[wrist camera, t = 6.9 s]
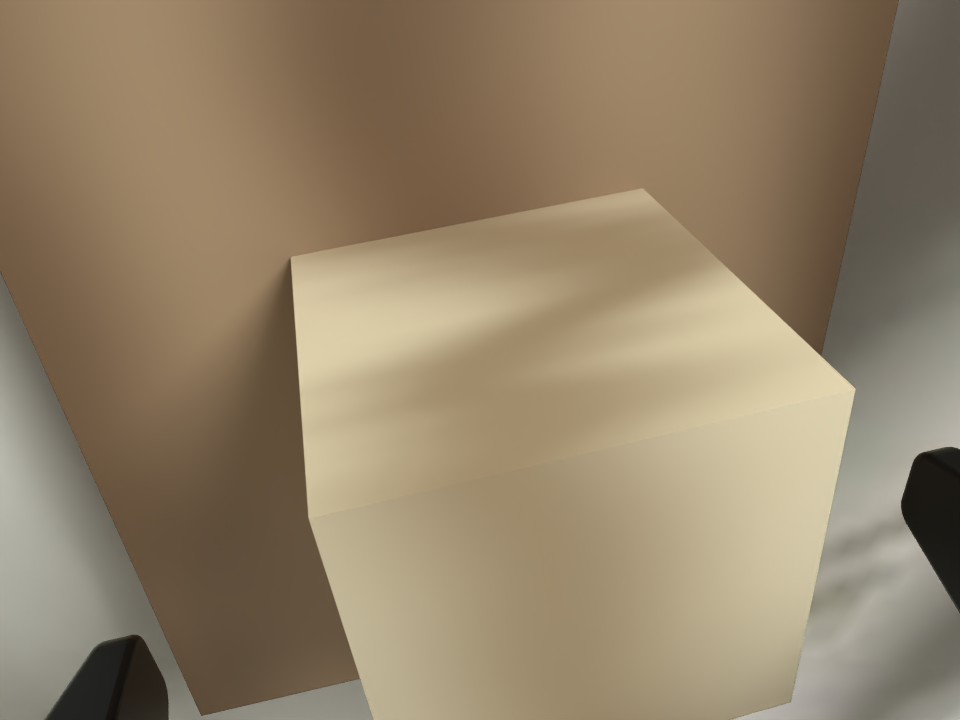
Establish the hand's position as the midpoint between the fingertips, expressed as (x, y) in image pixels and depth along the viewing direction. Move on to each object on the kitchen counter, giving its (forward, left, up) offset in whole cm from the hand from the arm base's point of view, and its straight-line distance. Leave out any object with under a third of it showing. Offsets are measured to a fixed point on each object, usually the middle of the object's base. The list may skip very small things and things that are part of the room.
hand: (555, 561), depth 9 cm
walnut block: (0, 0, -8) cm, 8 cm away
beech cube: (0, 0, -4) cm, 4 cm away
